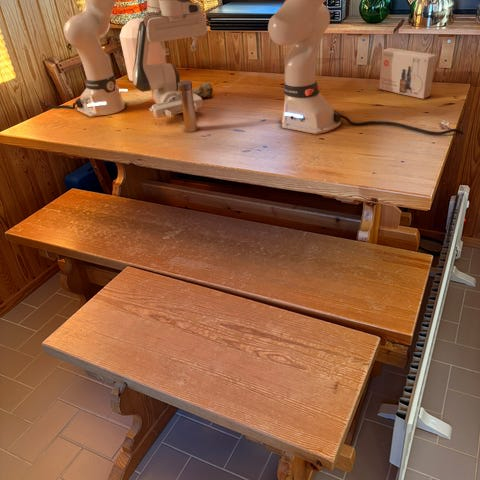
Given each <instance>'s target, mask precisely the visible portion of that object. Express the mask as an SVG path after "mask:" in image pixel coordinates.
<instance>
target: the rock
mask: <svg viewBox="0 0 480 480" xmlns="http://www.w3.org/2000/svg"><path fill="white" fill-rule="evenodd" d="M192 93H193V94H196V95H198V96H200V97H201V98H202V99H208V98H211V96H212V95H213V93H214V88H213V86H212V84H211V82H209V81H206V82H203V84H200V85H199V87H197V88H192Z"/></svg>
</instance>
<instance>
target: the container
mask: <svg viewBox="0 0 480 480" xmlns="http://www.w3.org/2000/svg"><path fill="white" fill-rule="evenodd" d="M142 21H143V17H136V18H132V19H129V20H128V21H127V22H126V23H125V24H124V25H123V26H122V28H121V31H120V33H119V41H120V45H121V49H122V54H123V59H124V63H125V68H126V72H127V77H128V80H129V81H130V82H133V80H132V74H133V68H134V63H135V54H136V44H137V35H138V28H139V25H140V22H142ZM163 46H164V47H165V44H164V45H163ZM164 63H167V57H166V55H165V54H164V49H163V48H162V47H161V45H160V44H159V42H155V43H151V42H150V44H149V47H148V56H147V65H153V64H164Z"/></svg>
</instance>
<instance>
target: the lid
mask: <svg viewBox="0 0 480 480" xmlns="http://www.w3.org/2000/svg"><path fill="white" fill-rule="evenodd" d="M190 89H193V81H191V80H187V79H186V80H180V82H178V91H179V90H181V91H185V90H190Z"/></svg>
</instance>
